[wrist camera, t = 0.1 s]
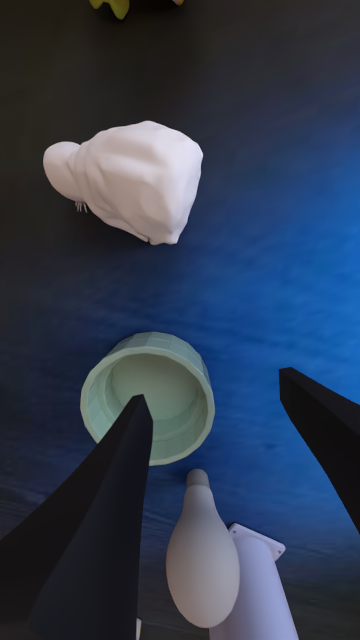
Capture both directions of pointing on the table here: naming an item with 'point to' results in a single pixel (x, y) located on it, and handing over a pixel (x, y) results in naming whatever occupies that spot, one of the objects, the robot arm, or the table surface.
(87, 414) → the bowl
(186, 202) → the white crouching figurine
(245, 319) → the table surface
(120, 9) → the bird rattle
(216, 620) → the lightbulb
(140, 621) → the medicine bottle
